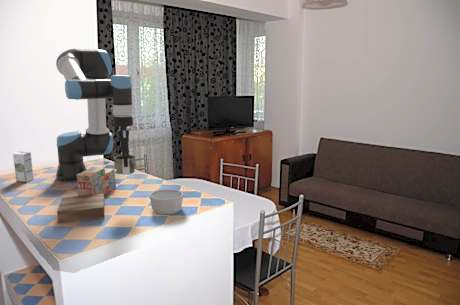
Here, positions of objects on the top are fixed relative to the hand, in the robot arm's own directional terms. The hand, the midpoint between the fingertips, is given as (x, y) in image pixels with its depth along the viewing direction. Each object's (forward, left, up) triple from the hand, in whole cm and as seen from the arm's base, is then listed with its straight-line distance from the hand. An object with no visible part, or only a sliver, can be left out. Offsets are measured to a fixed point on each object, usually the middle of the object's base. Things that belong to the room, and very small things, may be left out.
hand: (125, 171), depth 147 cm
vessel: (0, 0, -1) cm, 1 cm away
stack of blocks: (-20, -12, -16) cm, 28 cm away
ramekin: (+8, +15, -16) cm, 23 cm away
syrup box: (-51, -47, -15) cm, 71 cm away
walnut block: (+2, -17, -16) cm, 23 cm away
